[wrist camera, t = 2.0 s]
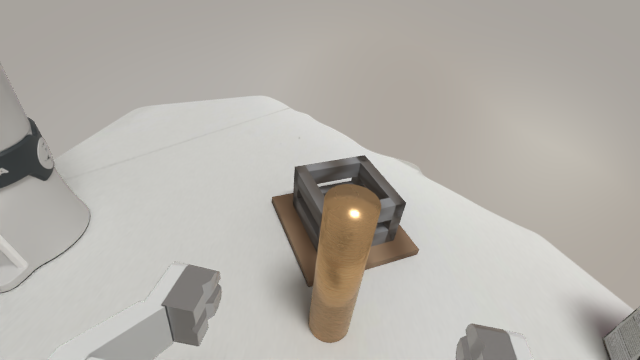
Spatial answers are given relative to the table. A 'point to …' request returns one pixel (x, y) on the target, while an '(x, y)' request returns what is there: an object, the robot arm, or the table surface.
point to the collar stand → (307, 207)
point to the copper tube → (341, 258)
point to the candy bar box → (625, 339)
